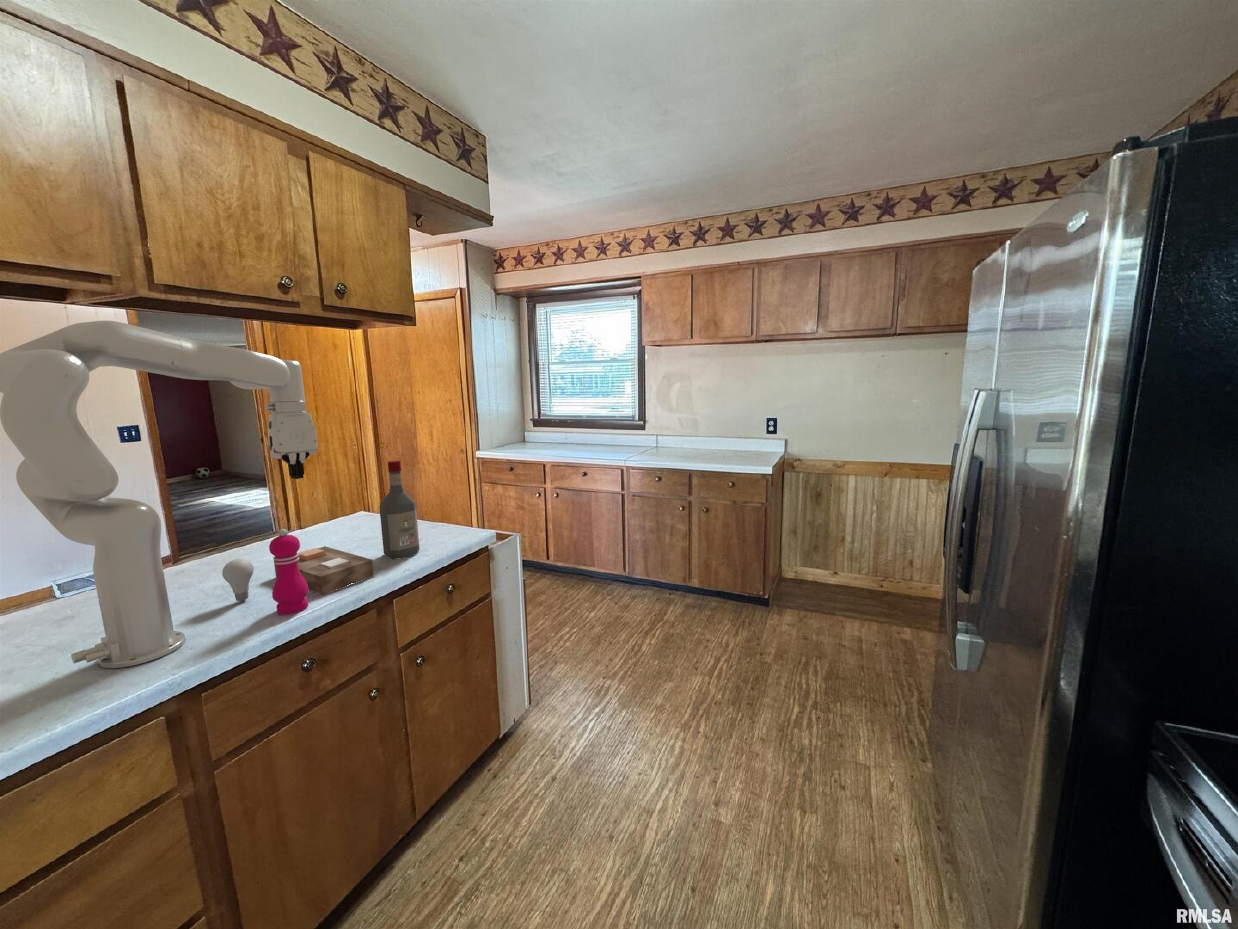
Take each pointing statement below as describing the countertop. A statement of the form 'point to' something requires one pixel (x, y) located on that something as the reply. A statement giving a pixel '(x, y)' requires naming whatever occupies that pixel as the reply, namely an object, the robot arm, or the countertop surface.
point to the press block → (334, 571)
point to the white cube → (334, 563)
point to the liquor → (398, 518)
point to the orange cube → (311, 554)
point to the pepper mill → (288, 575)
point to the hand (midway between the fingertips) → (297, 478)
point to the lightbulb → (238, 577)
